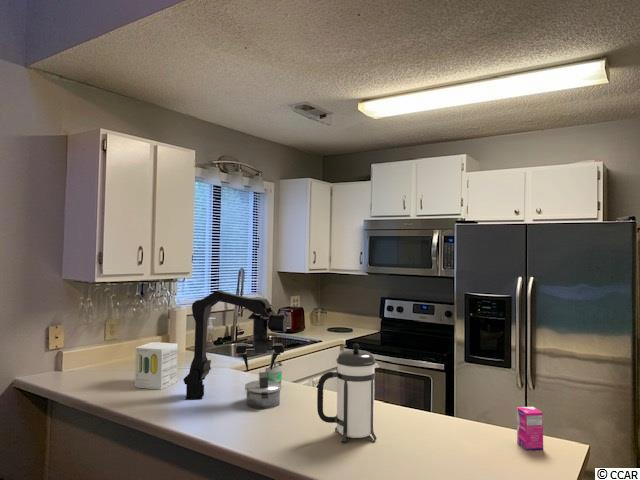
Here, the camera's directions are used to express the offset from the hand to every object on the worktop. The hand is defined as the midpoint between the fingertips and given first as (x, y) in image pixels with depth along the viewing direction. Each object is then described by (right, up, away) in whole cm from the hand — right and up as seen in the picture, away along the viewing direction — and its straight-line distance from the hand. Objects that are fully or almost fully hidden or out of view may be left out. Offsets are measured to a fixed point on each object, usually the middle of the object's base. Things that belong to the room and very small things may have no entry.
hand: (259, 370), depth 187 cm
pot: (+2, -13, -2) cm, 13 cm away
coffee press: (+34, -12, -34) cm, 50 cm away
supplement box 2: (+89, -13, -40) cm, 99 cm away
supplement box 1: (-49, -13, +22) cm, 55 cm away
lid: (+2, -7, -2) cm, 7 cm away
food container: (+5, -13, +19) cm, 24 cm away
